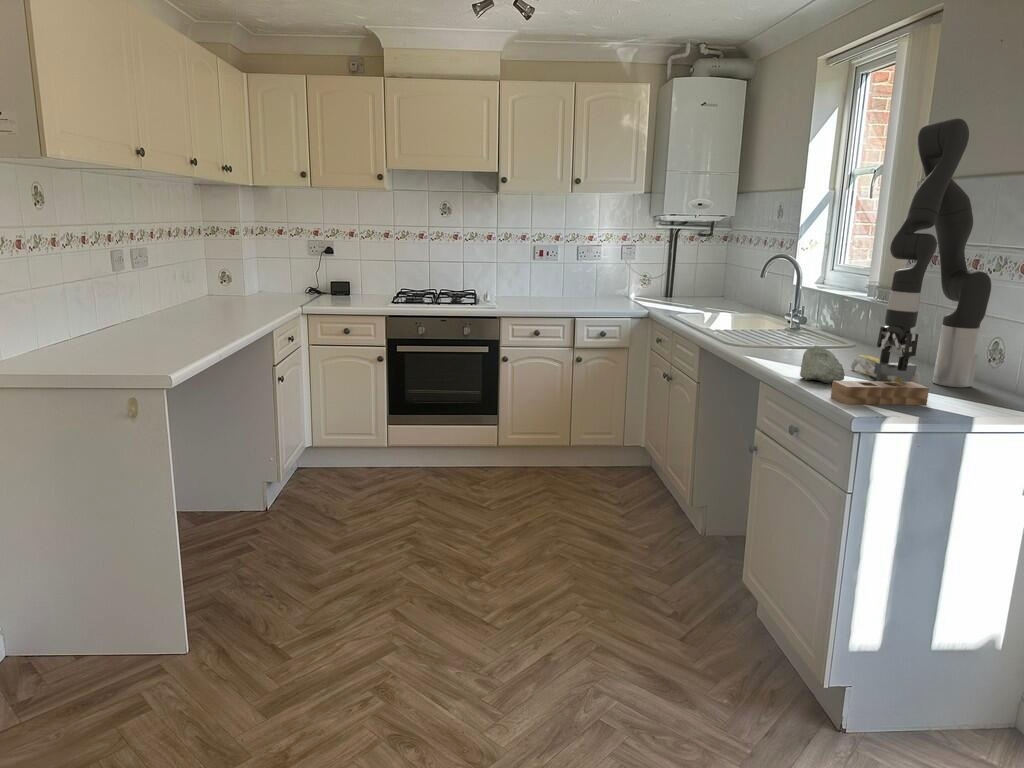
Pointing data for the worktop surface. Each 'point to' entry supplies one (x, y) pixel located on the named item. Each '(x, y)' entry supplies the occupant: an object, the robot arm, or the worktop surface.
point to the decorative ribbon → (870, 370)
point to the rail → (879, 392)
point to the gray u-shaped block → (894, 371)
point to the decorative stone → (821, 366)
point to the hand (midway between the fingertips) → (892, 367)
